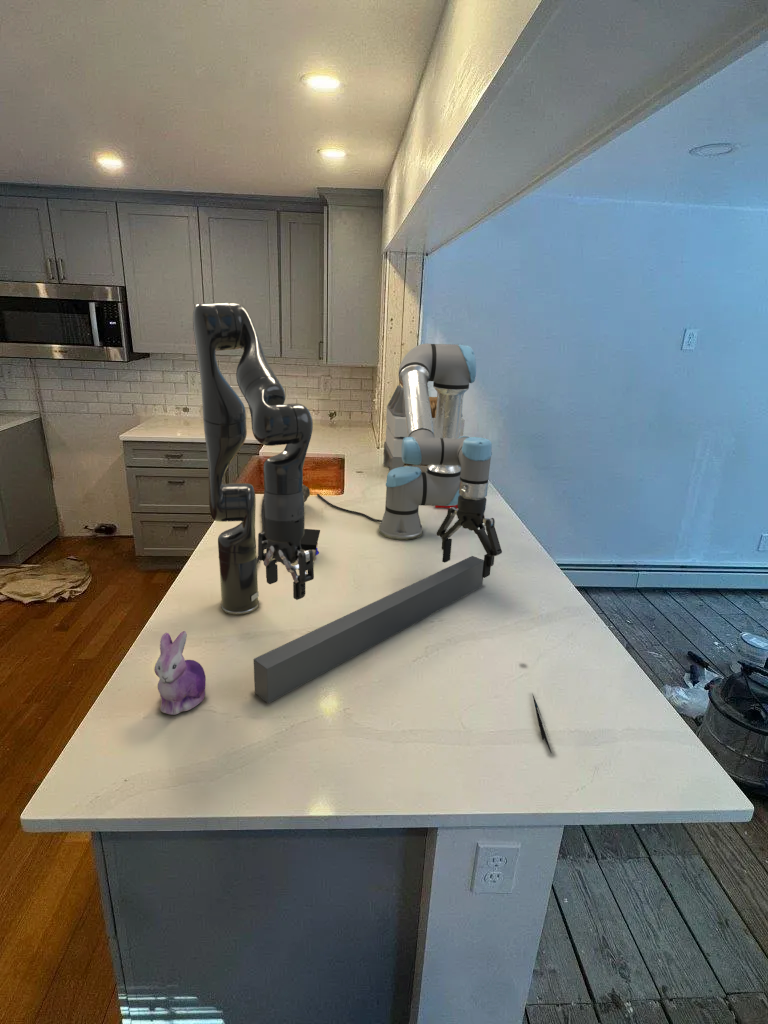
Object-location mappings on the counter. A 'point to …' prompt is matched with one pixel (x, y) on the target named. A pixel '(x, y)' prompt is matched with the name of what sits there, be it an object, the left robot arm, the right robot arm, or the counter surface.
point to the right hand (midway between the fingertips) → (465, 568)
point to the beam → (361, 629)
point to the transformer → (401, 428)
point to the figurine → (178, 677)
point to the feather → (541, 724)
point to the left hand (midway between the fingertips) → (285, 590)
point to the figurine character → (310, 541)
